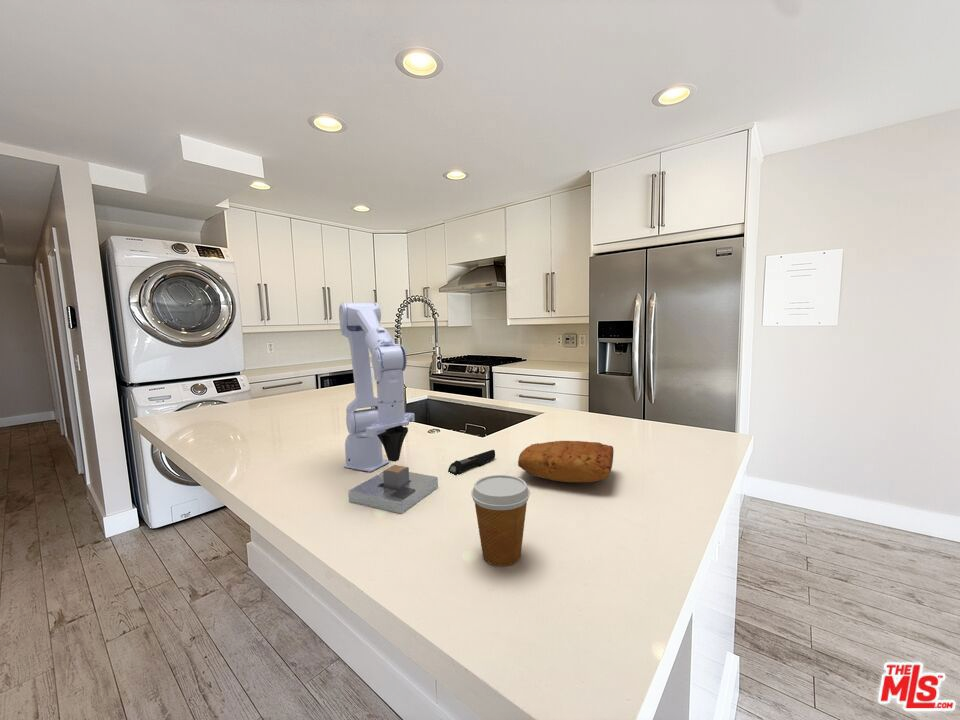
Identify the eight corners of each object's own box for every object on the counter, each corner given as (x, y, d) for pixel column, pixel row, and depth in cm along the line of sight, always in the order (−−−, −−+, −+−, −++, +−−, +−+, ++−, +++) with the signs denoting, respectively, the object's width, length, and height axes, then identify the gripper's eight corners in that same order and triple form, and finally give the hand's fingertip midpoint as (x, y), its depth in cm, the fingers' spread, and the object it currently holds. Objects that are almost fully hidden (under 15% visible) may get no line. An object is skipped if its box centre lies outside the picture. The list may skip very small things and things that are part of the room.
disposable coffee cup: (471, 541, 70) (469, 475, 69) (524, 537, 71) (523, 472, 70) (475, 575, 61) (472, 499, 59) (536, 570, 61) (535, 495, 60)
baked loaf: (618, 472, 100) (618, 440, 99) (607, 500, 85) (608, 463, 84) (533, 460, 110) (533, 431, 109) (511, 483, 94) (510, 450, 94)
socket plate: (349, 501, 87) (348, 488, 86) (390, 478, 99) (389, 466, 99) (401, 513, 81) (400, 499, 80) (438, 487, 93) (437, 474, 93)
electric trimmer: (499, 461, 111) (498, 450, 110) (456, 476, 100) (456, 464, 100) (489, 458, 113) (489, 447, 113) (446, 473, 103) (446, 461, 102)
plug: (384, 496, 89) (383, 470, 88) (395, 489, 92) (394, 464, 92) (398, 500, 87) (397, 473, 86) (409, 492, 91) (408, 466, 90)
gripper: (383, 408, 80) (387, 474, 81) (424, 395, 93) (426, 452, 94) (356, 406, 83) (360, 469, 84) (399, 393, 96) (402, 448, 97)
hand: (393, 460), depth 89 cm, fingers closed
